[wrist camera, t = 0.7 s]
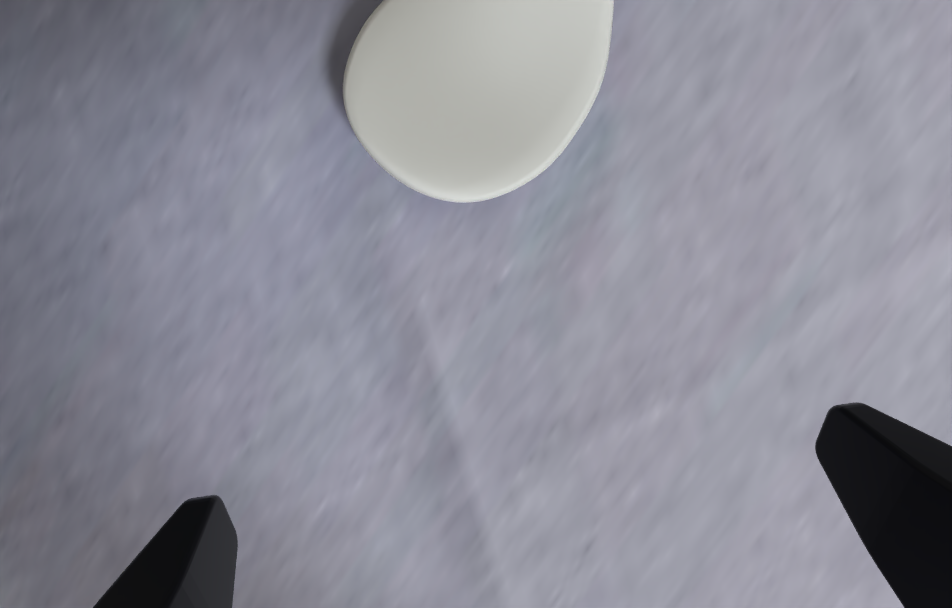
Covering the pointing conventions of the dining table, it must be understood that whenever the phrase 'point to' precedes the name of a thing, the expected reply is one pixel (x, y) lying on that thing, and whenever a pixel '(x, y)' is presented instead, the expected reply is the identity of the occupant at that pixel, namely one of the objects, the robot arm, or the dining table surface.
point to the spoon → (474, 89)
